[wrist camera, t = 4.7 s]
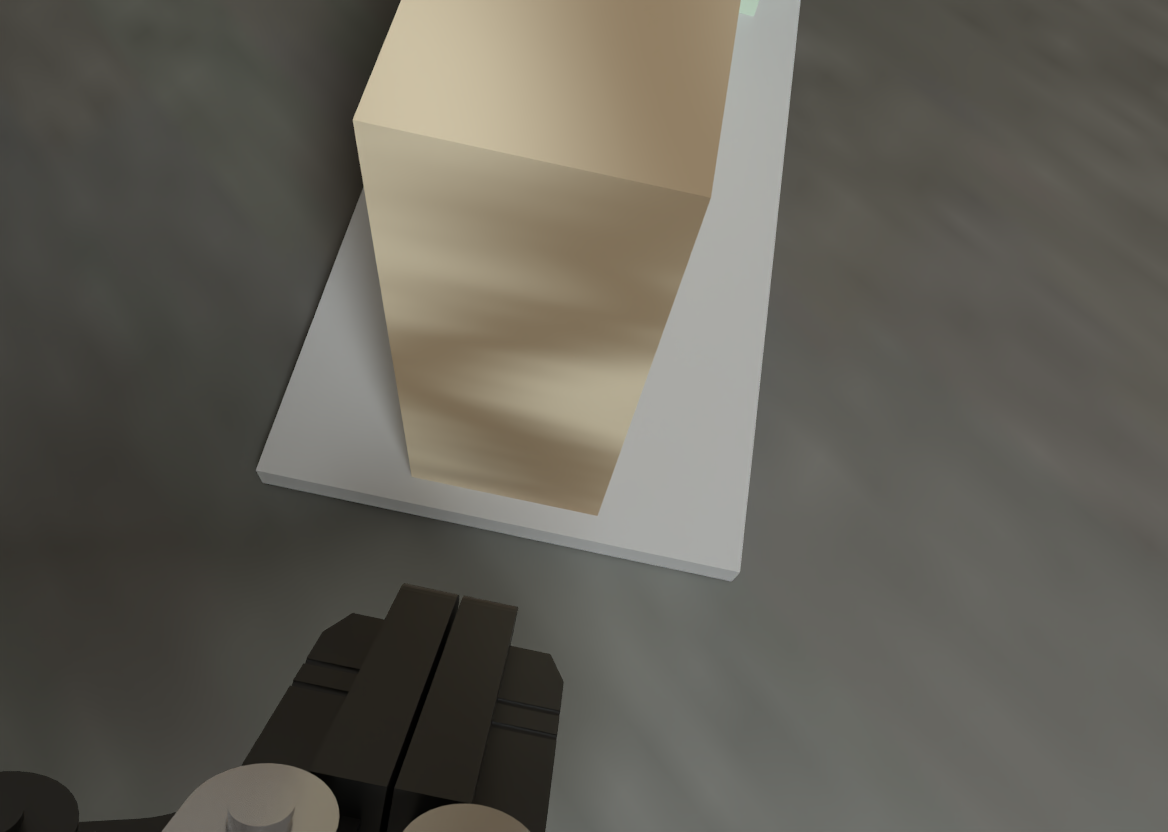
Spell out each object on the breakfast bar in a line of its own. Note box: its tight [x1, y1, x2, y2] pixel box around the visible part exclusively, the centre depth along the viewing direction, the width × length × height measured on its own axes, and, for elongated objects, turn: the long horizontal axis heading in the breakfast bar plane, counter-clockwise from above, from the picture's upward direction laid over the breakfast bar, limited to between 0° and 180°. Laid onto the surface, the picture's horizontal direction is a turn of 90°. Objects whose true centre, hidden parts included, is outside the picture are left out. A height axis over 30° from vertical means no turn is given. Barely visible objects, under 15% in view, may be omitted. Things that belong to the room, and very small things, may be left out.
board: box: [256, 0, 800, 581], centre depth 22 cm, size 9×22×1 cm, turn 170°
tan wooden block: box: [353, 0, 741, 516], centre depth 15 cm, size 4×12×9 cm, turn 169°
